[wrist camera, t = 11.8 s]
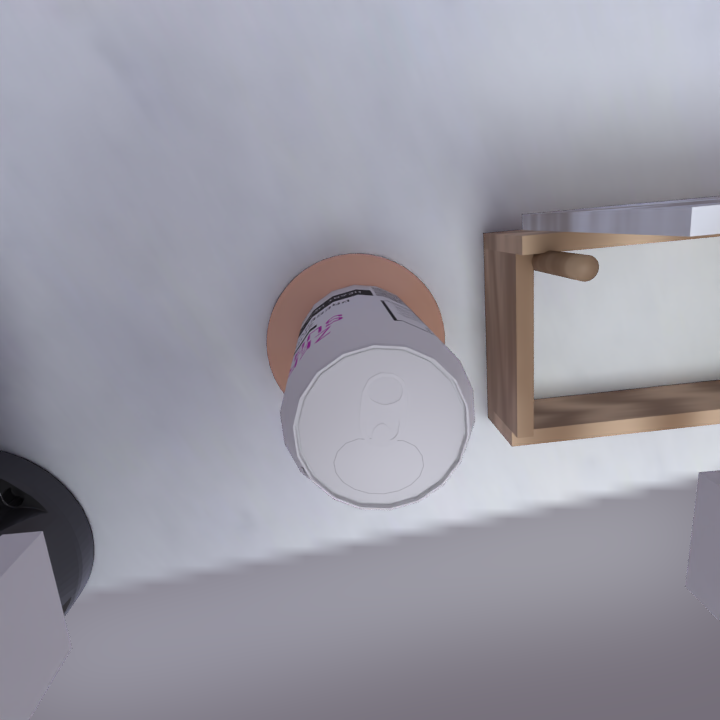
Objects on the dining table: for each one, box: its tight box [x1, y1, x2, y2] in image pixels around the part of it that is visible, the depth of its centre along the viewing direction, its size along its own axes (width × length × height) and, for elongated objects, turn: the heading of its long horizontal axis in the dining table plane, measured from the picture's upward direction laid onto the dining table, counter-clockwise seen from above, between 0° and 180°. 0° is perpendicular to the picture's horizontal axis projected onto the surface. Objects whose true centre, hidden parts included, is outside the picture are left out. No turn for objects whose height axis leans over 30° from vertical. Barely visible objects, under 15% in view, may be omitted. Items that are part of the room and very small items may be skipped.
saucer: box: [267, 254, 445, 393], centre depth 35 cm, size 12×12×1 cm
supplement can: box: [280, 285, 475, 510], centre depth 28 cm, size 8×8×15 cm
